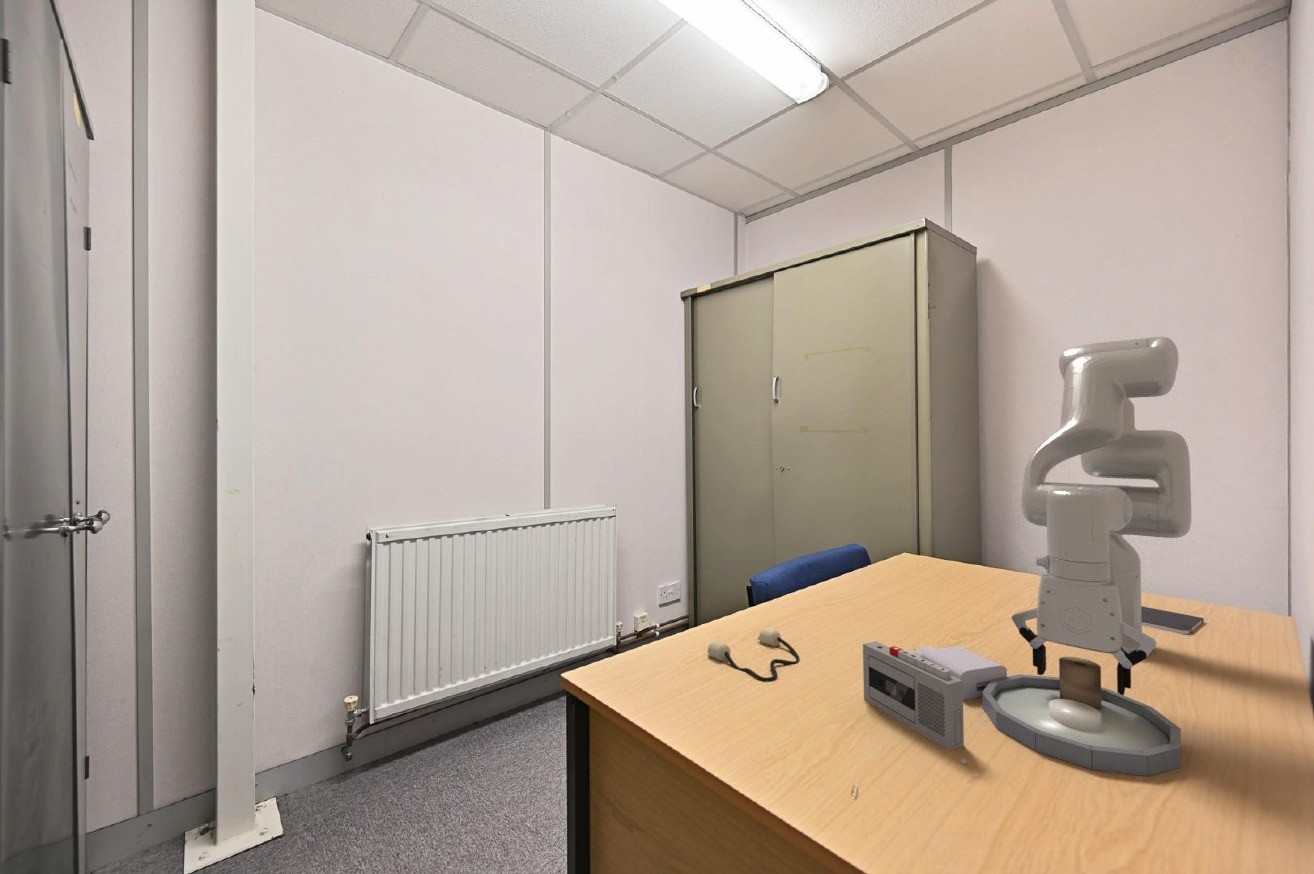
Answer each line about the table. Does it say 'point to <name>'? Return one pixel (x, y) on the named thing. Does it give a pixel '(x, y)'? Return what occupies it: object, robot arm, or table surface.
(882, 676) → the cassette player
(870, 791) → the table surface
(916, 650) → the charger
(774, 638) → the cable
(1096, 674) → the bead
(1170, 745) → the tray
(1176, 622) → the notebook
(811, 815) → the table surface
